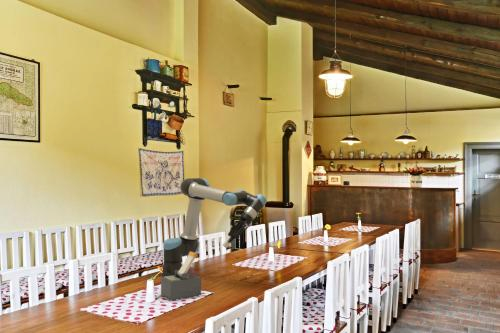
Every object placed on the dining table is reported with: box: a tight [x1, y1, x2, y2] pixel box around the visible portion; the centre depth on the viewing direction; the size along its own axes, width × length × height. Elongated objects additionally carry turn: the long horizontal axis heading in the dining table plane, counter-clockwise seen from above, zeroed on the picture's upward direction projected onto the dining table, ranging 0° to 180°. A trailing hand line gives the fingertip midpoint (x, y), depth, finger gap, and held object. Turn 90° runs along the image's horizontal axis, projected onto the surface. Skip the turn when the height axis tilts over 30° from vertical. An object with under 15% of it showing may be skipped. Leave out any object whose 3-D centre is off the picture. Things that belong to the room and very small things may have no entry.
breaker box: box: [160, 270, 202, 301], centre depth 246 cm, size 13×18×13 cm
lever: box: [177, 251, 198, 277], centre depth 248 cm, size 7×2×14 cm
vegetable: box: [187, 266, 198, 276], centre depth 267 cm, size 10×10×15 cm
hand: (224, 246), depth 260 cm, fingers closed
